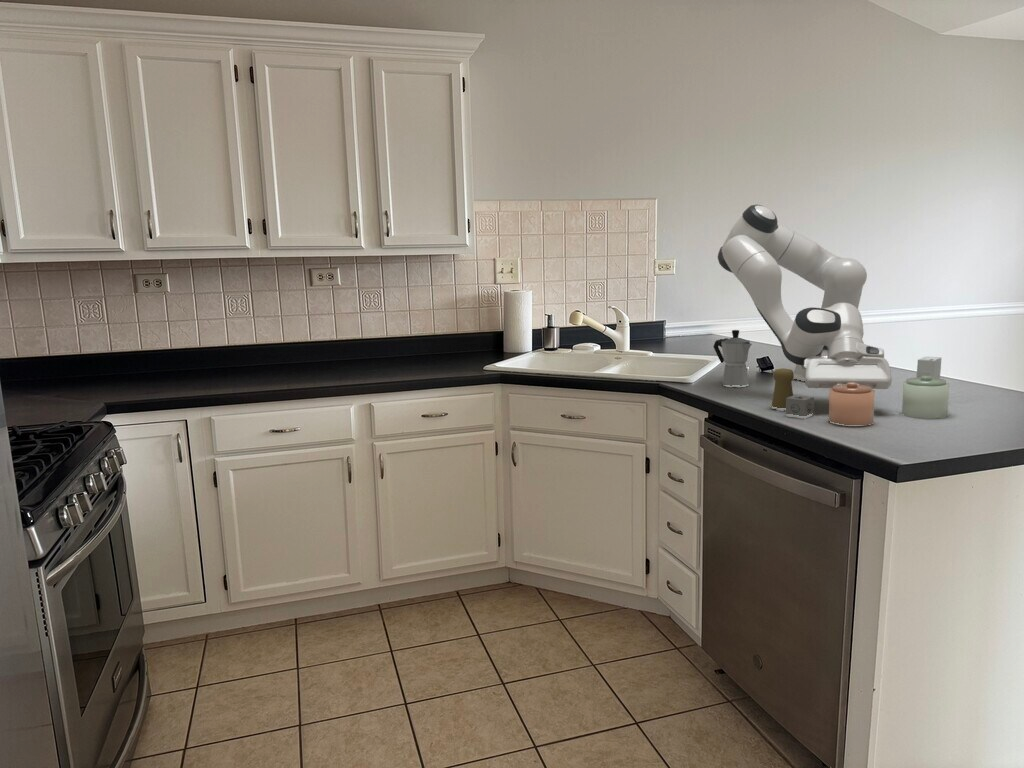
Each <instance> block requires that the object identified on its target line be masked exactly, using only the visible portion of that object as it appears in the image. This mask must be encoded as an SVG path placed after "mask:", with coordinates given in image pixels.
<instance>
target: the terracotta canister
mask: <svg viewBox="0 0 1024 768" xmlns="http://www.w3.org/2000/svg"><path fill="white" fill-rule="evenodd" d="M828 398H829V400H828V421H829V420H830V421H831V422H834V423H839V424H844V425H869V424H872V423H873V424H874V420H875V419H874V418H875V415H874V414H875V389H871V387H870V386H866V385H858V384H857V383H854V382H849V383H847V384H840V385H835V386H833V388H829V395H828Z"/></svg>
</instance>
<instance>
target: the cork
mask: <svg viewBox="0 0 1024 768" xmlns="http://www.w3.org/2000/svg"><path fill="white" fill-rule="evenodd" d="M794 373H795V372H794V371H793V370H792V369H790V368H776V369H775V370H774V372H773V374H772V375H773V380H774V381H775V382H774V388H773V395H772V400H771V401H772V402H771V407H772V406H773V407H777V408H786V398H788V397H791V396H793V395H794V394H793V393H794V392H793V385H792V381H793V380H794V379H793V377H794Z"/></svg>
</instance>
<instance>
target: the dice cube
mask: <svg viewBox="0 0 1024 768" xmlns="http://www.w3.org/2000/svg"><path fill="white" fill-rule="evenodd" d="M814 399H815V397H814V396H809V395H797V394H793V396H791V397H788V398H786V411H785V415H786V414H793V415H799V416H807V415H809V414H812V413H813V414H814Z"/></svg>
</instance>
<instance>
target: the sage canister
mask: <svg viewBox="0 0 1024 768" xmlns="http://www.w3.org/2000/svg"><path fill="white" fill-rule="evenodd" d="M916 377H917V376H916ZM916 377H910V378H909V377H908V378H907V379H906V381H903V382H902V403H901V404H902V407H901V414H902V415H903V414H904V415H903V416H905V415H906V416H905V417H908V416H910V417H909V418H913V417H915V418H914V419H922V418H929V419H928V420H937V418H939V419H945V418H947V417H948V413H949V398H950V397H949V395H950V383H948V382H947V380H946V379H944V378H940V379H939V378H932V376H921V377H917V378H916Z"/></svg>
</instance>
